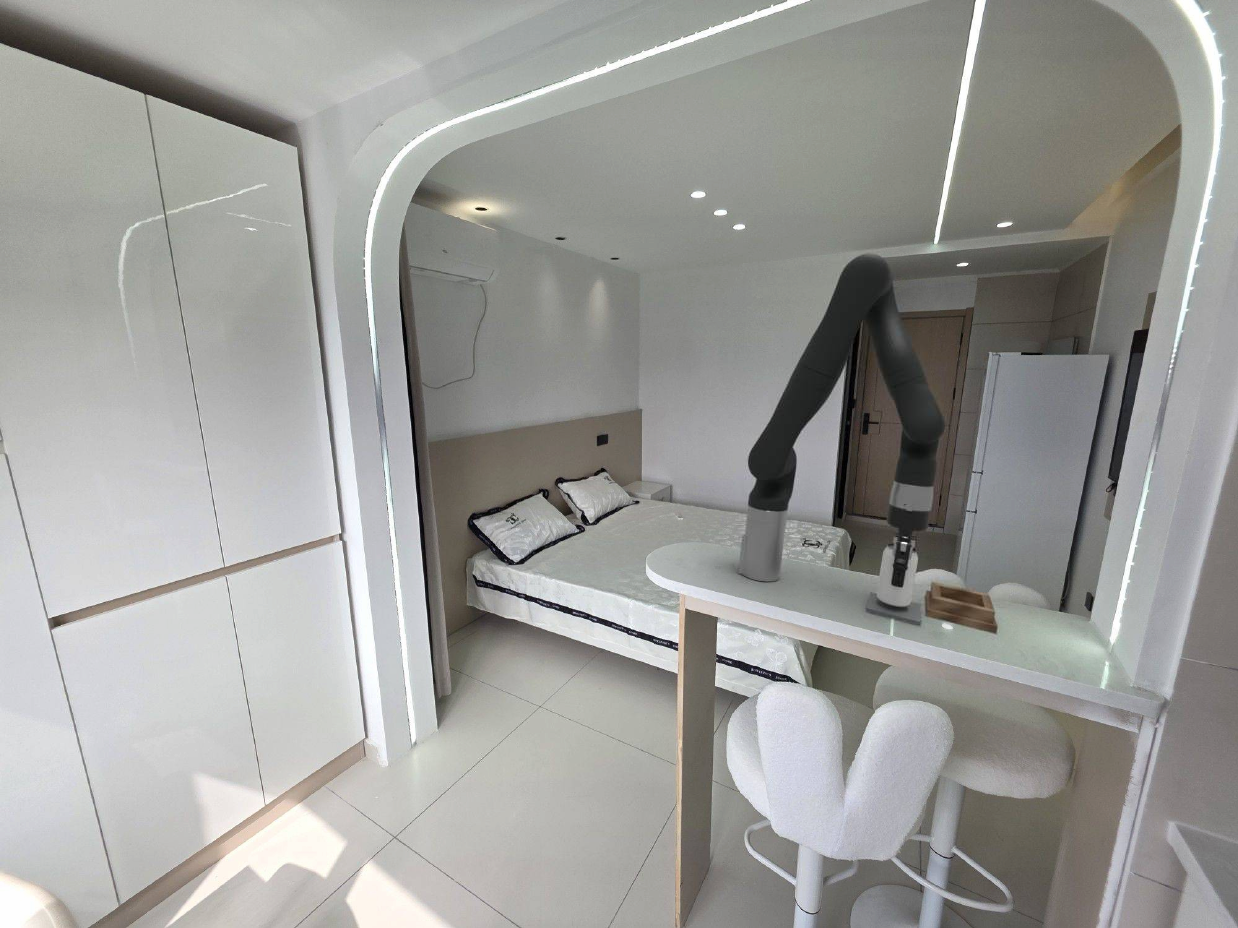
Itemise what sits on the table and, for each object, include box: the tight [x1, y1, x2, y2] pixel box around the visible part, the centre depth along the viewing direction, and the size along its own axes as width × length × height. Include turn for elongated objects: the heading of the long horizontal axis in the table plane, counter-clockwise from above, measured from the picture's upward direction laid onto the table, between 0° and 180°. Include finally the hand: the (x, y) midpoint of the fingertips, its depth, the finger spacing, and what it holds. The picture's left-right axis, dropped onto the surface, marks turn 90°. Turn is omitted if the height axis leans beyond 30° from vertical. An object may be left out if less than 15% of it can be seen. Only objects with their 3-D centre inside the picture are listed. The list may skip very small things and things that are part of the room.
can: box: [876, 542, 919, 607], centre depth 105 cm, size 6×6×12 cm
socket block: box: [924, 581, 998, 634], centre depth 106 cm, size 12×12×4 cm
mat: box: [865, 591, 922, 627], centre depth 106 cm, size 10×10×1 cm
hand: (897, 580), depth 105 cm, fingers closed on can, 6 cm apart
